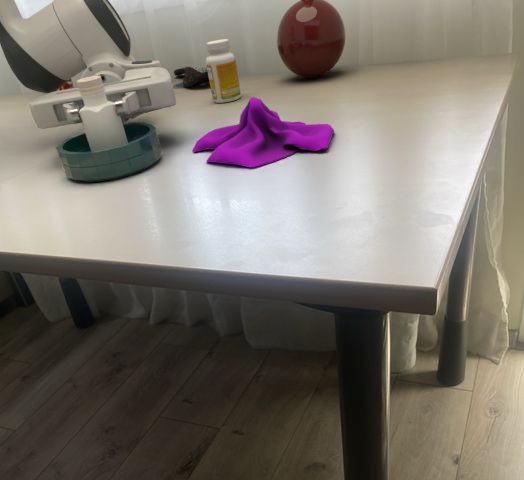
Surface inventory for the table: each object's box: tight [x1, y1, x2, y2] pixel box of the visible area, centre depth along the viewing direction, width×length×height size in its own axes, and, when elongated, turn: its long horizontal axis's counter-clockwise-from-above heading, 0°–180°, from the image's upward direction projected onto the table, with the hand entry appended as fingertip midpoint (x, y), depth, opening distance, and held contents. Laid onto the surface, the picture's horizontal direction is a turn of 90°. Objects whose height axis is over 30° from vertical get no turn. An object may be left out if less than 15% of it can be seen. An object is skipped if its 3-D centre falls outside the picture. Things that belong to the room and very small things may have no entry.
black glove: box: [173, 66, 210, 88], centre depth 120 cm, size 8×4×25 cm
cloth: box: [192, 96, 335, 168], centre depth 73 cm, size 22×19×6 cm
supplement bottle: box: [205, 38, 242, 104], centre depth 97 cm, size 5×5×10 cm
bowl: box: [55, 122, 163, 183], centre depth 74 cm, size 14×14×4 cm
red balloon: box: [276, 0, 346, 79], centre depth 100 cm, size 13×13×20 cm
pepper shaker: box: [76, 76, 128, 151], centre depth 71 cm, size 4×4×10 cm
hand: (98, 112), depth 70 cm, fingers closed on pepper shaker, 5 cm apart
